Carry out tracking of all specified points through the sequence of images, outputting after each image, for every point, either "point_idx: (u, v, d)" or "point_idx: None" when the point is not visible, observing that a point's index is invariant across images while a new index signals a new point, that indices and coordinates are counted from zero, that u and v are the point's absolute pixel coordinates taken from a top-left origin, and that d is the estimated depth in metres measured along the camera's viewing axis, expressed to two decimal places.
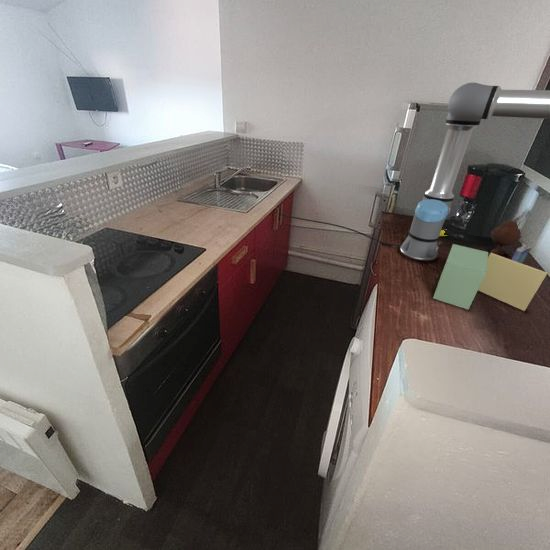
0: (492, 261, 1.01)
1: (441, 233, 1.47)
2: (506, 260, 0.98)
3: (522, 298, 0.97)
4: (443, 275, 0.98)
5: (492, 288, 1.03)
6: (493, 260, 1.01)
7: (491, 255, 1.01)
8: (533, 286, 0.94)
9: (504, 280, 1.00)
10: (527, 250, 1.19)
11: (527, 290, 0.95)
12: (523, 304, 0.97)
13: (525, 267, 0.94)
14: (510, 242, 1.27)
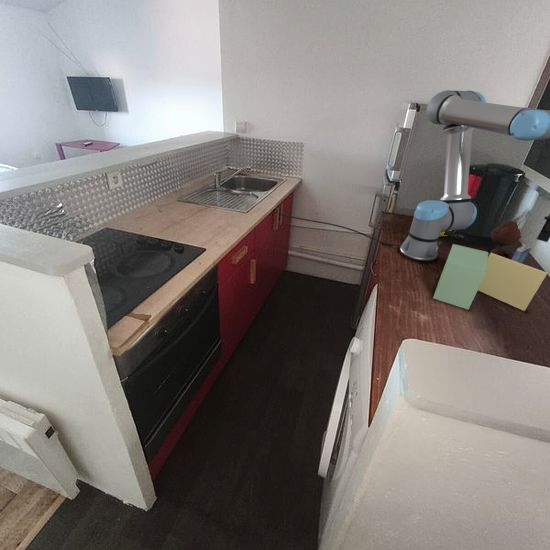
0: (492, 261, 1.01)
1: (441, 233, 1.47)
2: (506, 260, 0.98)
3: (522, 298, 0.97)
4: (443, 275, 0.98)
5: (492, 288, 1.03)
6: (493, 260, 1.01)
7: (491, 255, 1.01)
8: (533, 286, 0.94)
9: (504, 280, 1.00)
10: (527, 250, 1.19)
11: (527, 290, 0.95)
12: (523, 304, 0.97)
13: (525, 267, 0.94)
14: (510, 242, 1.27)
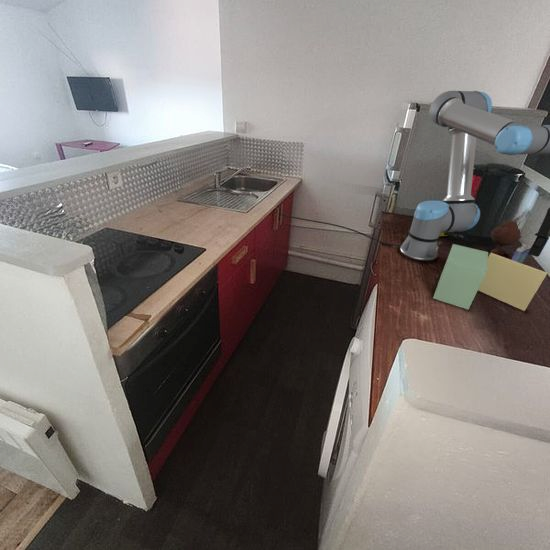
0: (492, 261, 1.01)
1: (441, 233, 1.47)
2: (506, 260, 0.98)
3: (522, 298, 0.97)
4: (443, 275, 0.98)
5: (492, 288, 1.03)
6: (493, 260, 1.01)
7: (491, 255, 1.01)
8: (533, 286, 0.94)
9: (504, 280, 1.00)
10: (527, 250, 1.19)
11: (527, 290, 0.95)
12: (523, 304, 0.97)
13: (525, 267, 0.94)
14: (510, 242, 1.27)
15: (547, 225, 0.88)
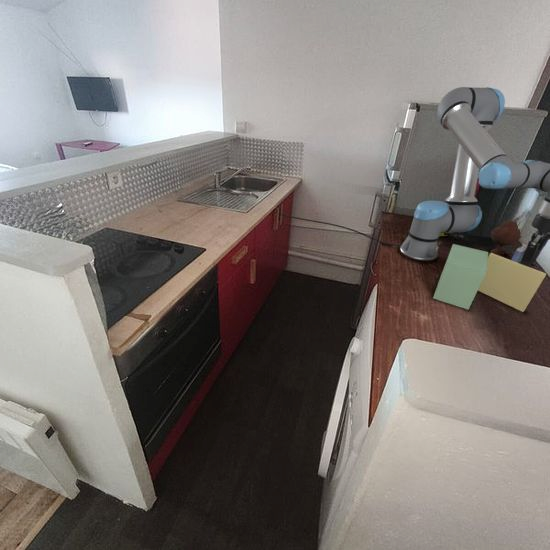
0: (492, 261, 1.01)
1: (441, 233, 1.47)
2: (505, 260, 0.97)
3: (521, 299, 0.97)
4: (443, 275, 0.98)
5: (492, 288, 1.03)
6: (493, 260, 1.01)
7: (491, 255, 1.01)
8: (532, 287, 0.93)
9: (504, 280, 0.99)
10: None
11: (525, 291, 0.95)
12: (522, 305, 0.97)
13: (524, 268, 0.94)
14: (510, 242, 1.27)
15: (528, 256, 0.92)
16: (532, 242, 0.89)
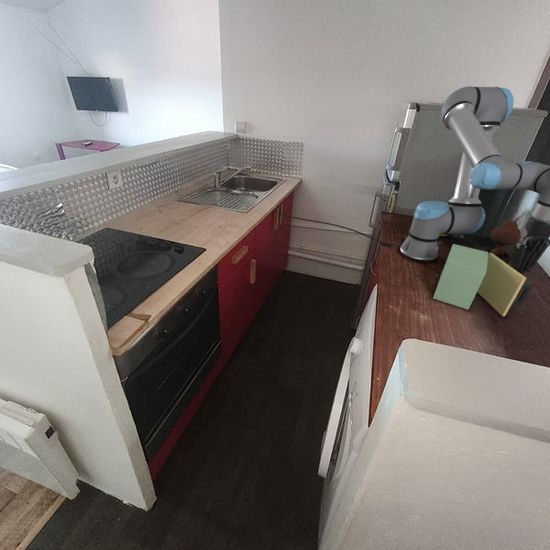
0: (489, 261, 1.01)
1: None
2: (498, 261, 0.97)
3: (503, 302, 0.95)
4: (443, 275, 0.98)
5: (485, 289, 1.03)
6: (490, 260, 1.01)
7: (489, 255, 1.01)
8: (512, 290, 0.91)
9: (494, 282, 0.99)
10: None
11: (507, 294, 0.93)
12: (502, 308, 0.95)
13: (510, 269, 0.92)
14: (510, 242, 1.27)
15: (516, 258, 0.91)
16: (518, 243, 0.88)
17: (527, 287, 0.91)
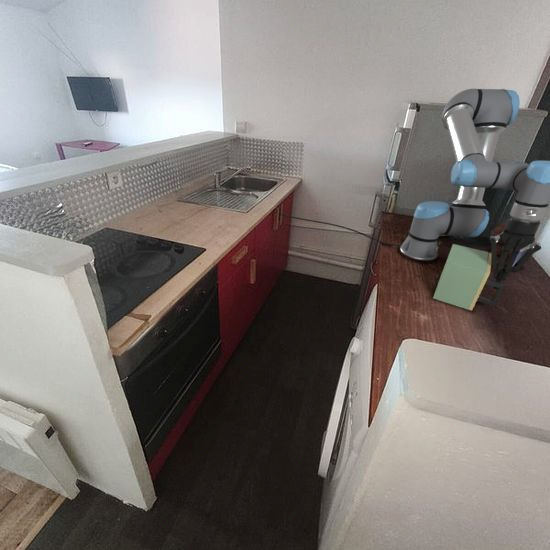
0: None
1: None
2: None
3: None
4: (443, 275, 0.98)
5: None
6: None
7: (488, 254, 1.01)
8: None
9: None
10: None
11: None
12: None
13: None
14: None
15: None
16: (491, 237, 0.92)
17: (497, 286, 0.91)
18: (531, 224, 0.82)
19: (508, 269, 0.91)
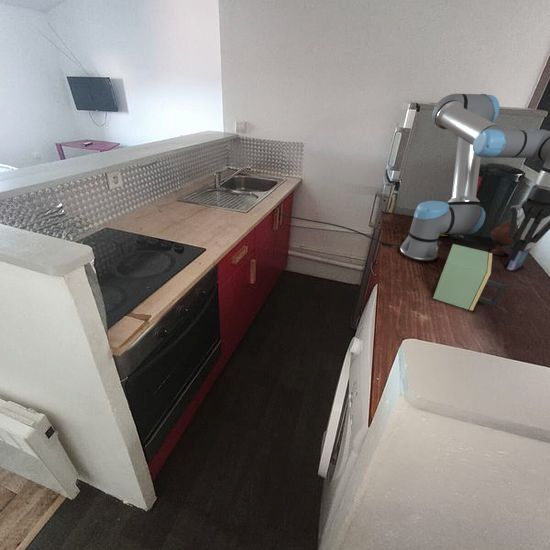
0: None
1: None
2: (488, 259, 0.98)
3: (474, 297, 0.97)
4: (443, 275, 0.98)
5: None
6: None
7: (488, 254, 1.01)
8: (480, 285, 0.94)
9: None
10: (527, 250, 1.19)
11: None
12: None
13: (487, 266, 0.94)
14: (510, 242, 1.27)
15: (510, 223, 0.93)
16: (512, 206, 0.91)
17: (497, 286, 0.91)
18: None
19: (527, 240, 0.91)
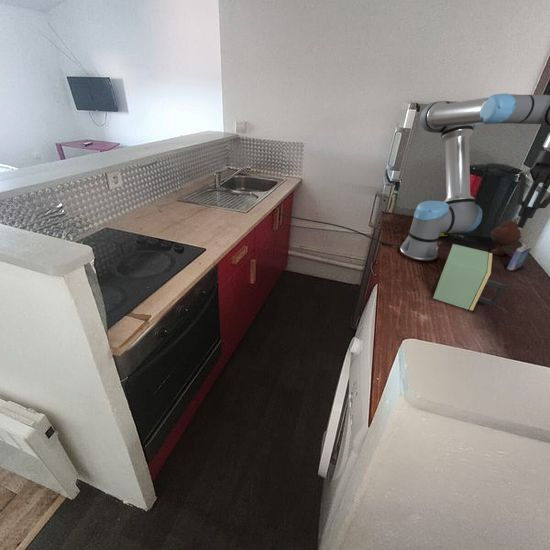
0: None
1: (441, 233, 1.47)
2: (488, 259, 0.98)
3: (474, 297, 0.97)
4: (443, 275, 0.98)
5: None
6: None
7: (488, 254, 1.01)
8: (480, 285, 0.94)
9: None
10: (527, 250, 1.19)
11: None
12: None
13: (487, 266, 0.94)
14: (510, 242, 1.27)
15: None
16: (520, 172, 0.91)
17: (497, 286, 0.91)
18: None
19: (536, 205, 0.92)
